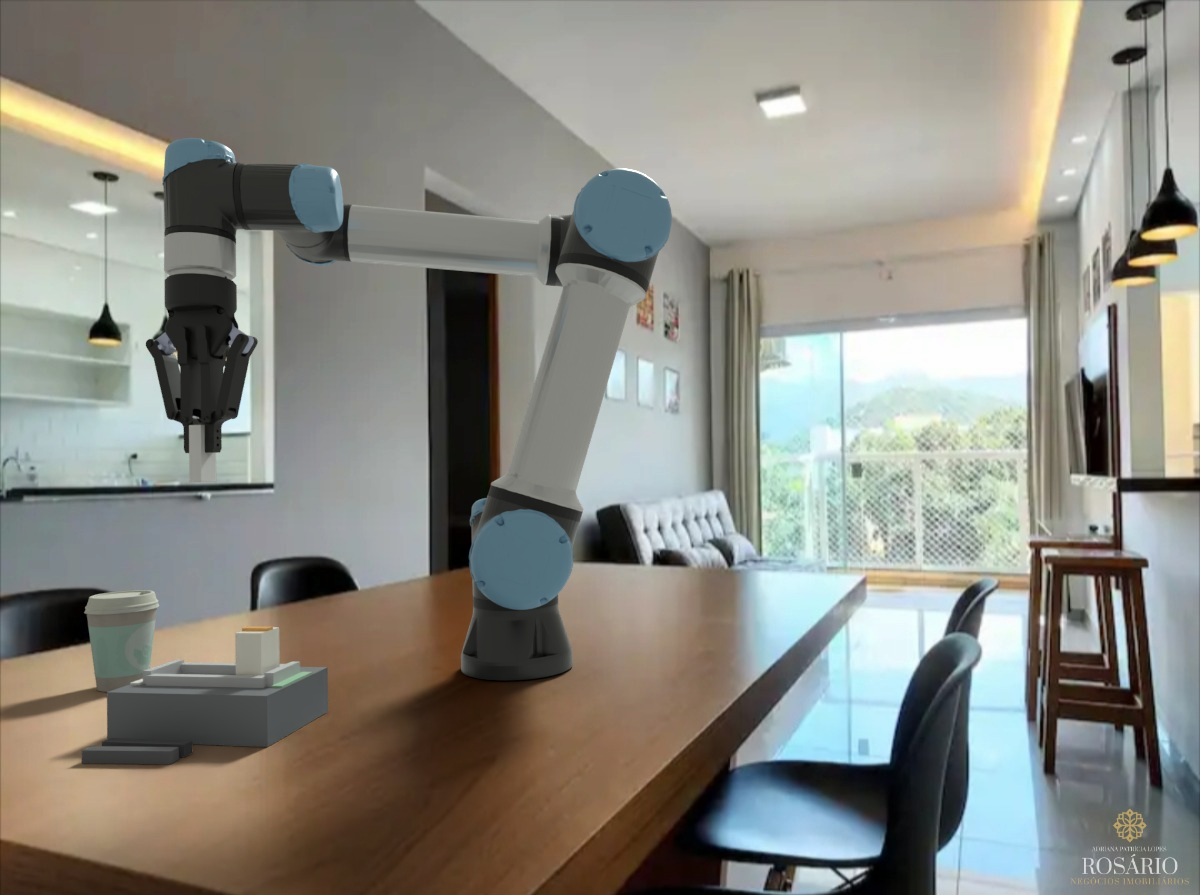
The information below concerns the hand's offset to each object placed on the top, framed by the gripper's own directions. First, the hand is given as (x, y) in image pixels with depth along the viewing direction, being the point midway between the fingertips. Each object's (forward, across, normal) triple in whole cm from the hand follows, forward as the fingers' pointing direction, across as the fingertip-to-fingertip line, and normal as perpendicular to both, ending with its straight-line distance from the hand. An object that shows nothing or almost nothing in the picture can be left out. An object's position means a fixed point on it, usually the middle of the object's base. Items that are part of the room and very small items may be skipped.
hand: (203, 481), depth 94 cm
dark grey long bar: (+26, -3, +13) cm, 30 cm away
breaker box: (+26, -5, +4) cm, 27 cm away
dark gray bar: (+26, -3, +15) cm, 31 cm away
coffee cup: (+27, +20, -11) cm, 35 cm away
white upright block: (+21, -9, +4) cm, 23 cm away
